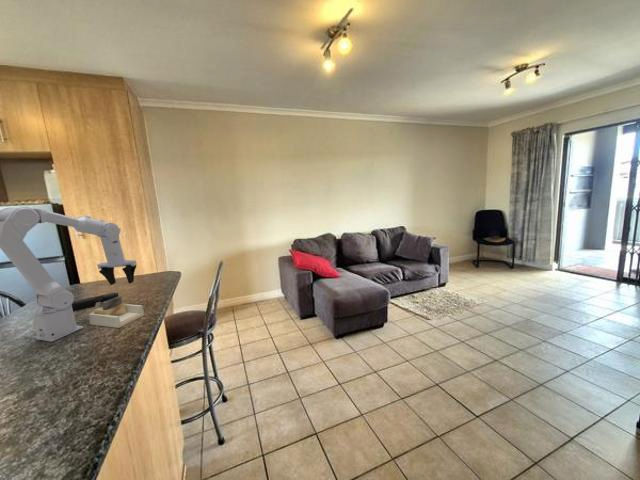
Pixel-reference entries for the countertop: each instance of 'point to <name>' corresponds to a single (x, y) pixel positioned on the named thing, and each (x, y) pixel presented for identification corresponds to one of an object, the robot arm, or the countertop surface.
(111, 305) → the tan block with handle
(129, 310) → the bay
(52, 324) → the robot arm
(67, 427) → the countertop surface
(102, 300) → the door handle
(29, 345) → the countertop surface
